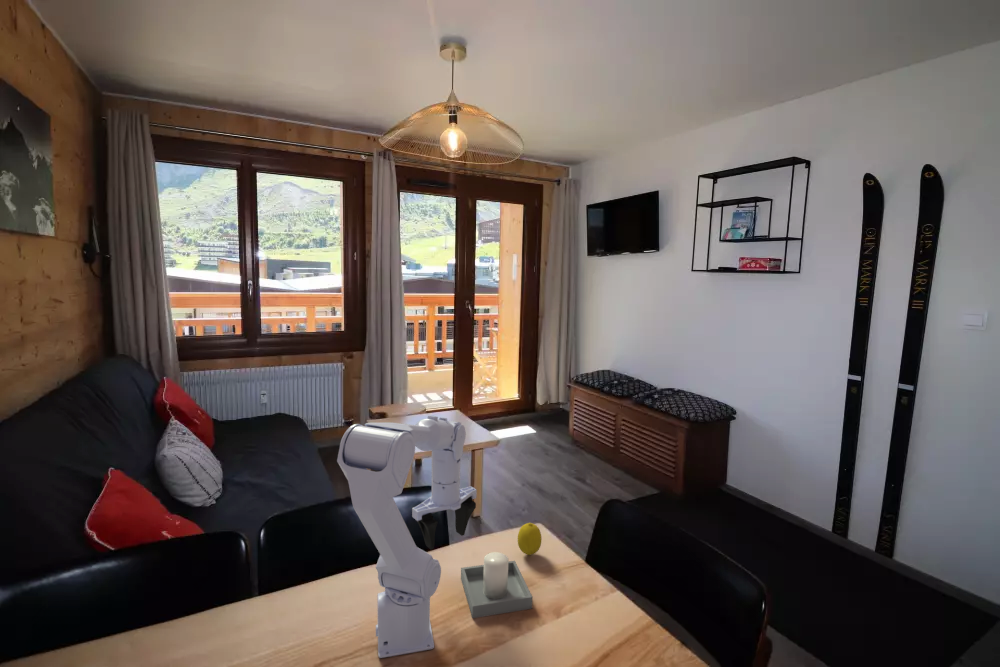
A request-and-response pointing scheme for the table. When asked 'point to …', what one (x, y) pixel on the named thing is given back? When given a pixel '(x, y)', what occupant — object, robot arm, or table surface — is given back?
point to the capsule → (495, 575)
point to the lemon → (529, 538)
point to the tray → (485, 606)
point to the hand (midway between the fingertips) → (445, 539)
